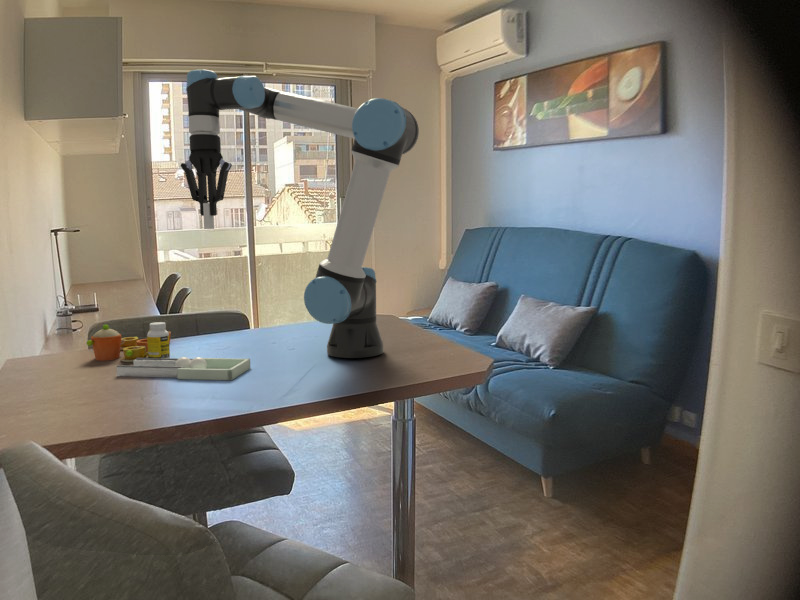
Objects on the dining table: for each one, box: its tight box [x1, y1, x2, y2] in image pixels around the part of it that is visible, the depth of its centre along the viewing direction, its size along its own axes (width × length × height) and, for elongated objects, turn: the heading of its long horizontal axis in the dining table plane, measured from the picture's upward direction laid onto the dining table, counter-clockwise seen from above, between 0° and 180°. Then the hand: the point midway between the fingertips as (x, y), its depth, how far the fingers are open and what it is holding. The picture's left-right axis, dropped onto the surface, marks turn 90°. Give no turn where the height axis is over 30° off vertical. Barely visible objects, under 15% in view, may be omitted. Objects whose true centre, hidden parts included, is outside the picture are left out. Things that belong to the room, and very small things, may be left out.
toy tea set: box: [86, 324, 172, 363], centre depth 176 cm, size 26×16×10 cm, turn 178°
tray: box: [177, 357, 251, 381], centre depth 151 cm, size 13×12×2 cm
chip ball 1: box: [175, 356, 191, 368], centre depth 153 cm, size 4×4×4 cm
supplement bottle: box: [146, 321, 171, 358], centre depth 167 cm, size 5×5×10 cm
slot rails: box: [116, 357, 194, 379], centre depth 153 cm, size 16×9×2 cm, turn 82°
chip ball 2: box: [190, 356, 207, 369], centre depth 152 cm, size 4×4×4 cm
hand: (209, 228), depth 163 cm, fingers closed
